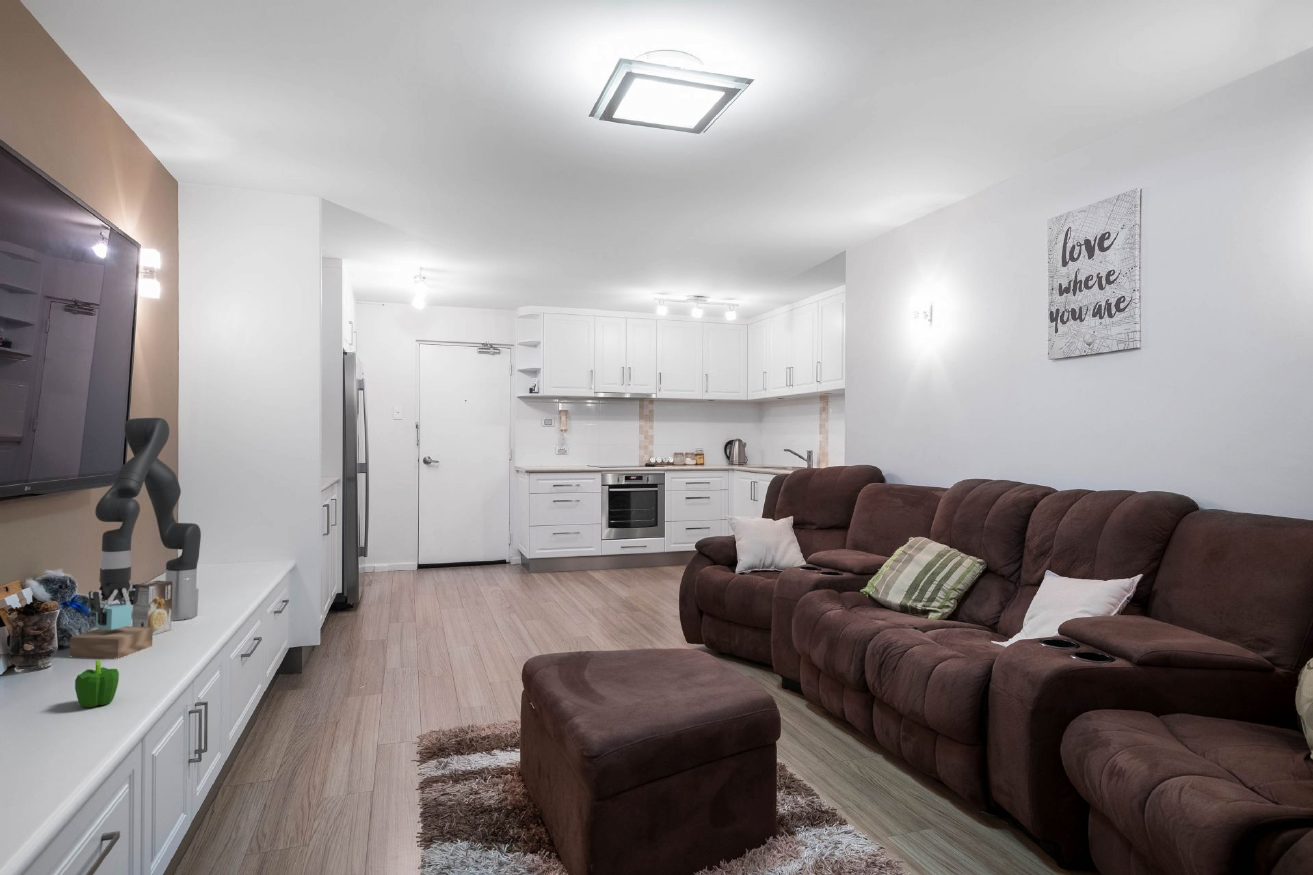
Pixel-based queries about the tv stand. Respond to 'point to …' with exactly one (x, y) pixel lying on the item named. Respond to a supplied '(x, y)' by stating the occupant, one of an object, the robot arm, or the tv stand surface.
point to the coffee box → (154, 606)
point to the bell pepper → (96, 686)
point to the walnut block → (111, 642)
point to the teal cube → (116, 616)
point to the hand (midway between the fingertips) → (113, 622)
